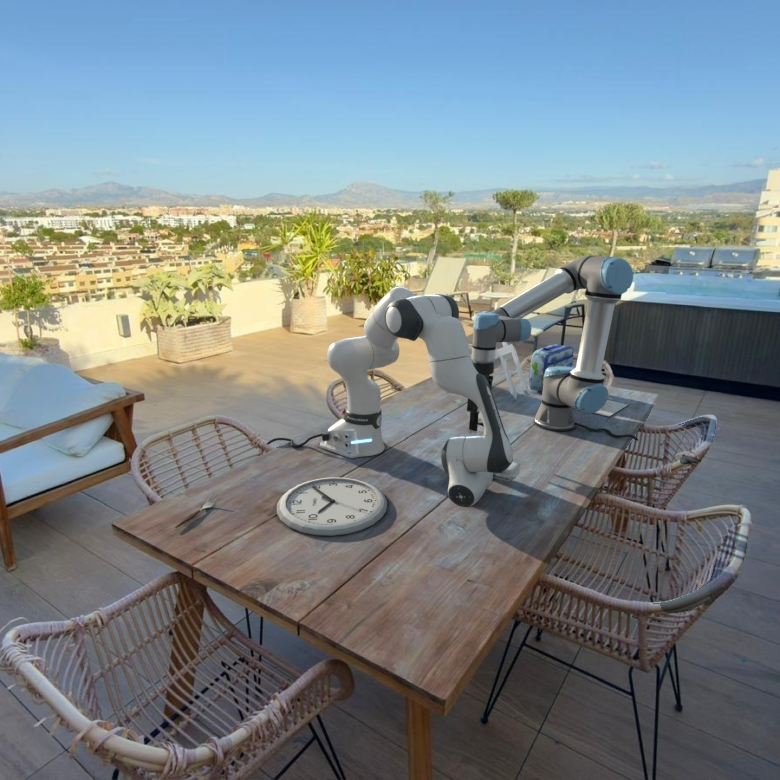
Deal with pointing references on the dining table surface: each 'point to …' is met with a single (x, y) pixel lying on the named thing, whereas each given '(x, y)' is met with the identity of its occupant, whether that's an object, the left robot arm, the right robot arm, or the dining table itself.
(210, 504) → the fork
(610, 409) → the invitation card
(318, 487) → the wall clock
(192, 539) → the dining table surface
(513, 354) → the white plastic object
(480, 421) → the lid
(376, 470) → the dining table surface
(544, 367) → the lunch box
